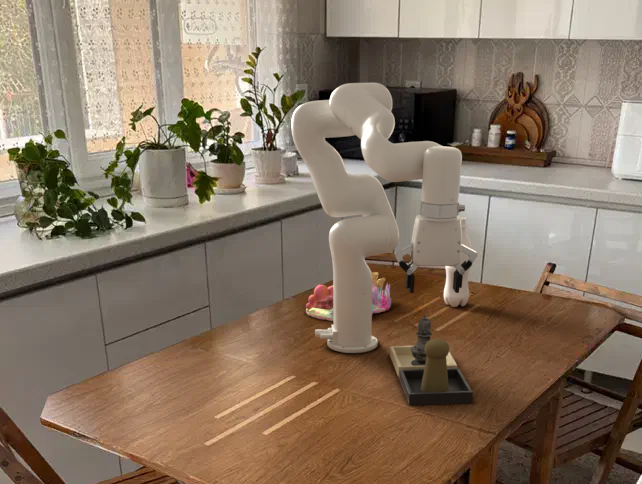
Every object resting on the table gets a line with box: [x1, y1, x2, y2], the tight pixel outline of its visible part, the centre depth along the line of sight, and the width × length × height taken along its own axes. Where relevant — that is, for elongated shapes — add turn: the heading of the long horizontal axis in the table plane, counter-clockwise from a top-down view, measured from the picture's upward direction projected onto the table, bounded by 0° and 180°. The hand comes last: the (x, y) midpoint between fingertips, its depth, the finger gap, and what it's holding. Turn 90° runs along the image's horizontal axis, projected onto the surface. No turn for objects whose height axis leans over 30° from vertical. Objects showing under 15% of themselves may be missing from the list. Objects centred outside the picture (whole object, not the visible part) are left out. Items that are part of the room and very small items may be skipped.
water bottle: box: [443, 216, 473, 308], centre depth 221 cm, size 7×7×25 cm
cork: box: [421, 339, 450, 392], centre depth 167 cm, size 6×6×11 cm
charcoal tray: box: [398, 367, 474, 406], centre depth 169 cm, size 13×13×2 cm
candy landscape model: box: [305, 271, 392, 322], centre depth 222 cm, size 25×24×9 cm
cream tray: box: [389, 345, 458, 378], centre depth 183 cm, size 13×13×2 cm
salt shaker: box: [411, 314, 433, 366], centre depth 181 cm, size 6×6×12 cm
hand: (433, 291), depth 166 cm, fingers open, 9 cm apart
